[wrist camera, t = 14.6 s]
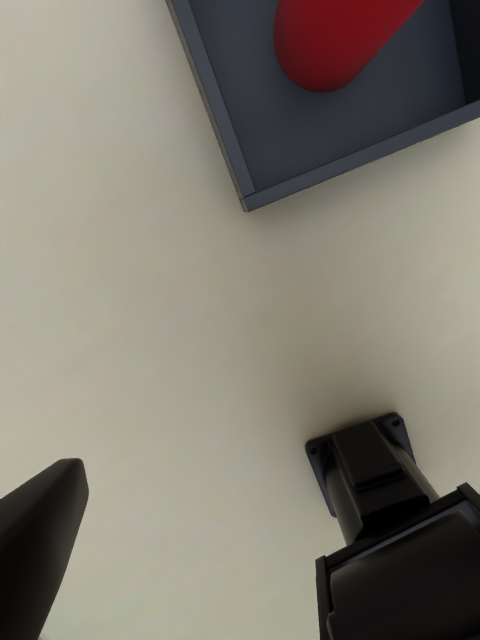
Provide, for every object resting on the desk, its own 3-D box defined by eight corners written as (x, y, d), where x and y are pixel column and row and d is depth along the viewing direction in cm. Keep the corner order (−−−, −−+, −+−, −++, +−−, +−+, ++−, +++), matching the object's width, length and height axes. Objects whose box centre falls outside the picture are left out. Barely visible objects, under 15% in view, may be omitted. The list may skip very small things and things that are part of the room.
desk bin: (469, 120, 17) (552, 87, 13) (244, 213, 18) (248, 212, 14) (419, -183, 14) (508, -371, 9) (147, -49, 15) (112, -160, 10)
